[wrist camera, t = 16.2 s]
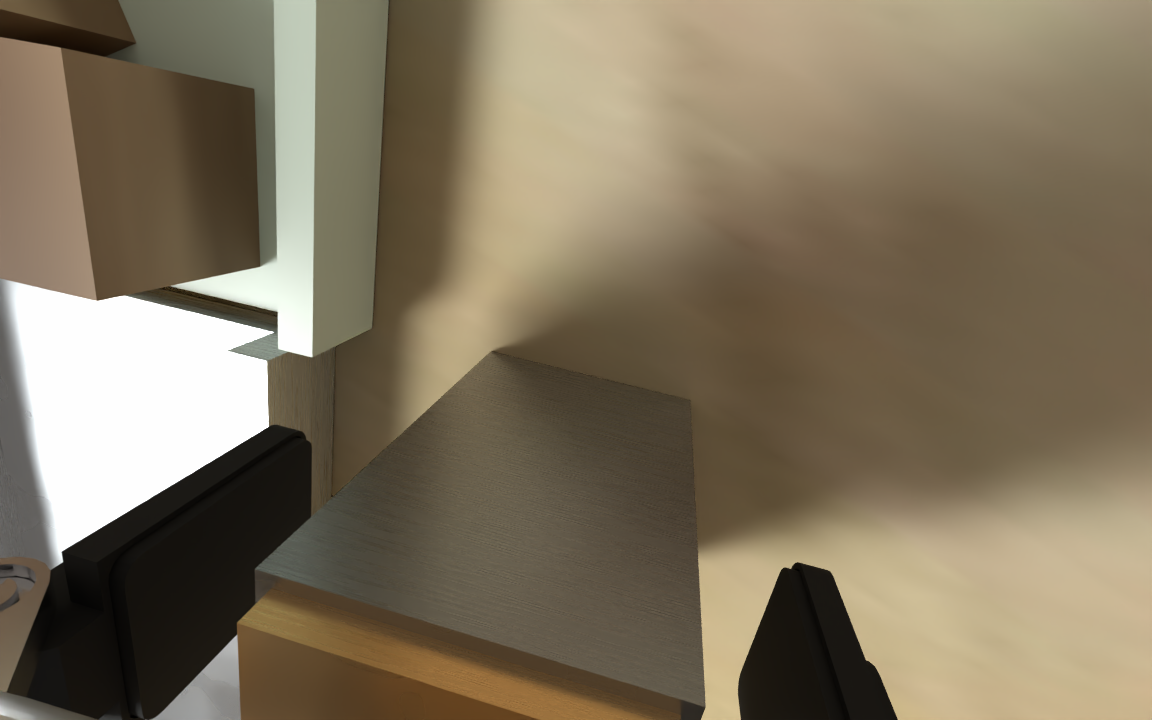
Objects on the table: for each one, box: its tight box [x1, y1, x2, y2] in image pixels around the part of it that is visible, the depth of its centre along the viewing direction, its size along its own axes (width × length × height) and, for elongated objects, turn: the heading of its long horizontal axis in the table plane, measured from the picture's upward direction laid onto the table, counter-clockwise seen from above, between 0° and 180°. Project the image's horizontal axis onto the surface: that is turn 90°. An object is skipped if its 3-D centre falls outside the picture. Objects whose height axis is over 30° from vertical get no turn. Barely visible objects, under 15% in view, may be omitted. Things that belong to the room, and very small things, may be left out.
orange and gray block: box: [237, 351, 705, 720], centre depth 10 cm, size 5×5×8 cm
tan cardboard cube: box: [0, 37, 260, 301], centre depth 11 cm, size 4×4×4 cm
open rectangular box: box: [0, 279, 335, 720], centre depth 17 cm, size 11×20×3 cm, turn 169°
